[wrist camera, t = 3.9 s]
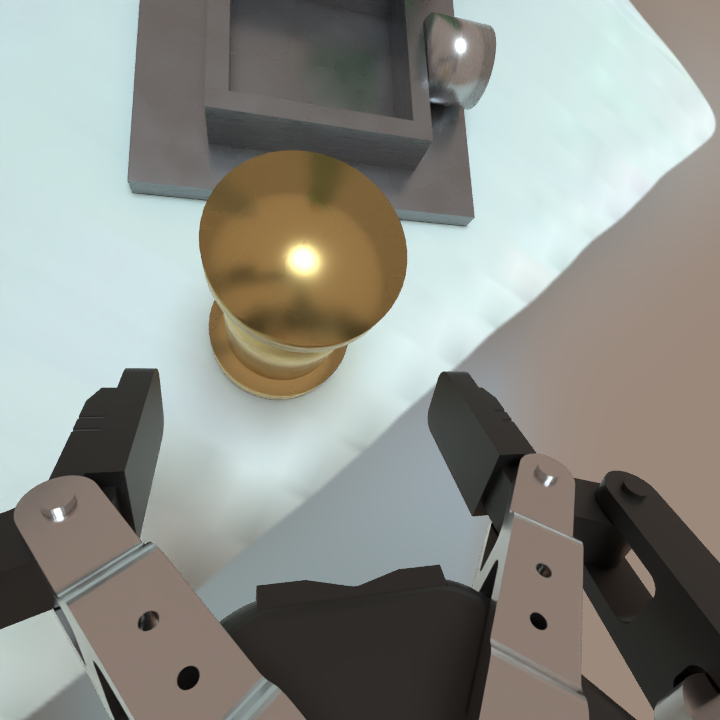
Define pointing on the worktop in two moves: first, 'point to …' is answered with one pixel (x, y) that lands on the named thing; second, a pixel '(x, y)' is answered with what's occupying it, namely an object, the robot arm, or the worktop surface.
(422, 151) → the coupling base
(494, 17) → the worktop surface
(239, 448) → the worktop surface
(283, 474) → the worktop surface
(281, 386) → the gold tall waisted piece
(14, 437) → the worktop surface
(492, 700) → the robot arm
